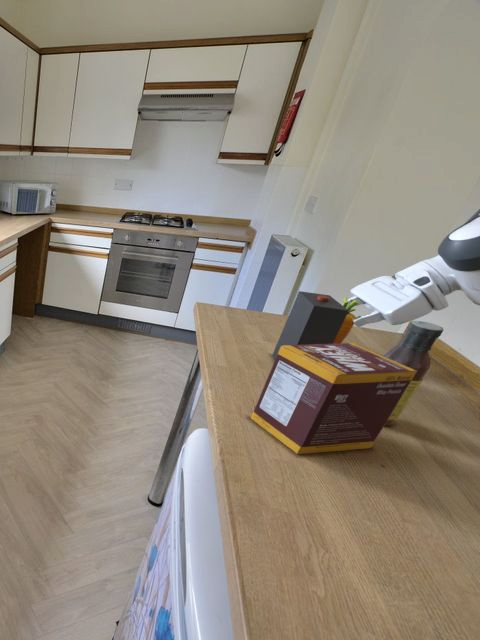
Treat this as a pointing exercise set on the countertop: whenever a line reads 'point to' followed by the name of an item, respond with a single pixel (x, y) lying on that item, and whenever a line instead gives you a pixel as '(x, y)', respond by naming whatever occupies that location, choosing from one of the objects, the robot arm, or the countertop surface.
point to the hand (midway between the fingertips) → (346, 317)
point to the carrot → (346, 322)
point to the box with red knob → (312, 321)
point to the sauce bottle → (413, 358)
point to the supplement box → (330, 396)
